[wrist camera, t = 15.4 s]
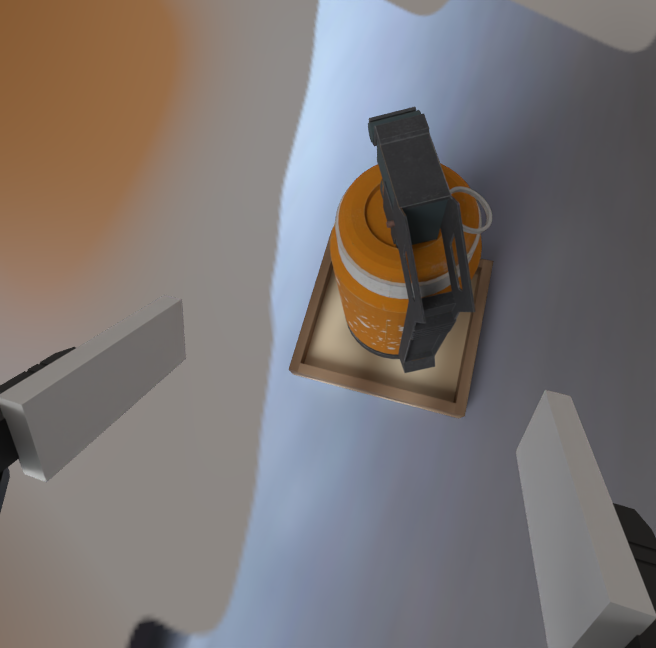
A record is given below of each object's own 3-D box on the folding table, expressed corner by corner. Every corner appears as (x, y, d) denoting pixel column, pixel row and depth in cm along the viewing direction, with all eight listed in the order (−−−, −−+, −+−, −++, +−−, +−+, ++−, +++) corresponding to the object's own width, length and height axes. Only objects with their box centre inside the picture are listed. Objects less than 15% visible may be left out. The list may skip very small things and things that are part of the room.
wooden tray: (486, 272, 37) (493, 261, 35) (458, 418, 34) (464, 416, 32) (334, 242, 40) (331, 230, 38) (293, 374, 37) (288, 369, 34)
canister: (431, 256, 38) (484, 56, 19) (467, 372, 34) (579, 269, 15) (336, 278, 38) (295, 105, 19) (363, 395, 34) (344, 323, 16)
